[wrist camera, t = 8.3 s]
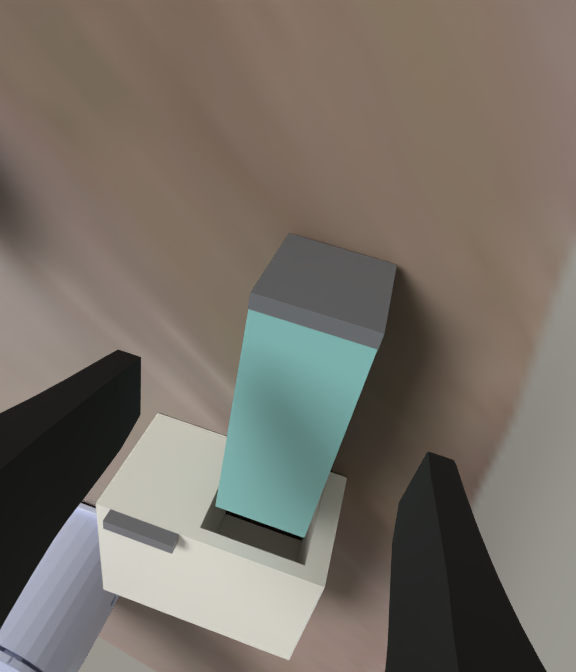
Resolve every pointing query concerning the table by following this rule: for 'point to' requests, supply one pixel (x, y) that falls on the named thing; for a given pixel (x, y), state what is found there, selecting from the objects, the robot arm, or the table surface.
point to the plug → (300, 378)
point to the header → (209, 543)
